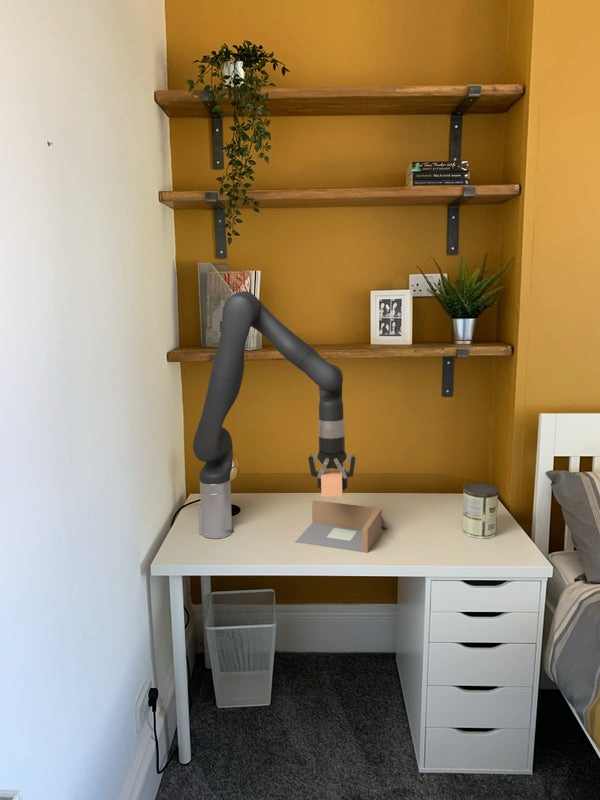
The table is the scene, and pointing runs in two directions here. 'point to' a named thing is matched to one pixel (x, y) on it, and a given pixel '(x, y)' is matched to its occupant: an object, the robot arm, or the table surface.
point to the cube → (331, 484)
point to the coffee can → (480, 510)
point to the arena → (343, 526)
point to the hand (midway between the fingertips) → (332, 489)
